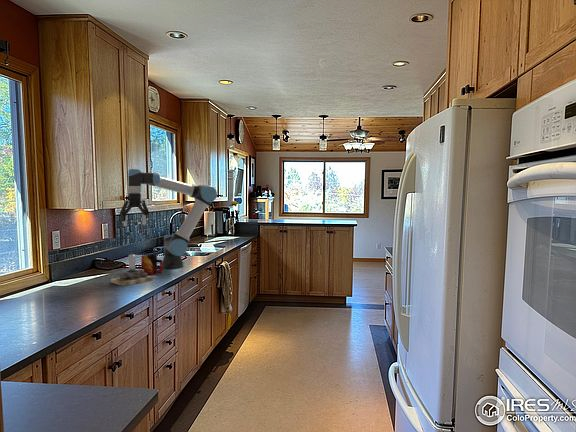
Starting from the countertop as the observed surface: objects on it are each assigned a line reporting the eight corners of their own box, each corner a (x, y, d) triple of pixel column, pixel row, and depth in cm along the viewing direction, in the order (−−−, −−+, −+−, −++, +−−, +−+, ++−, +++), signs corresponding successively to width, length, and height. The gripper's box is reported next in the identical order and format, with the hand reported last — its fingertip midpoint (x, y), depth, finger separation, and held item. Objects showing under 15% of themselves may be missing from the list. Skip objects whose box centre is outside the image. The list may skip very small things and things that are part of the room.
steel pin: (133, 277, 234) (132, 254, 233) (136, 277, 232) (136, 254, 231) (127, 278, 231) (127, 254, 230) (131, 278, 229) (130, 255, 228)
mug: (162, 275, 249) (161, 257, 248) (139, 275, 247) (139, 257, 246) (164, 272, 258) (164, 254, 258) (143, 272, 257) (143, 254, 256)
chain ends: (139, 276, 243) (139, 267, 243) (152, 280, 235) (152, 270, 235) (110, 282, 227) (110, 272, 227) (124, 286, 219) (124, 275, 219)
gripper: (147, 192, 262) (148, 223, 263) (113, 192, 242) (113, 226, 243) (154, 193, 258) (154, 224, 259) (120, 192, 237) (120, 227, 239)
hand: (134, 225), depth 251 cm, fingers open, 13 cm apart
